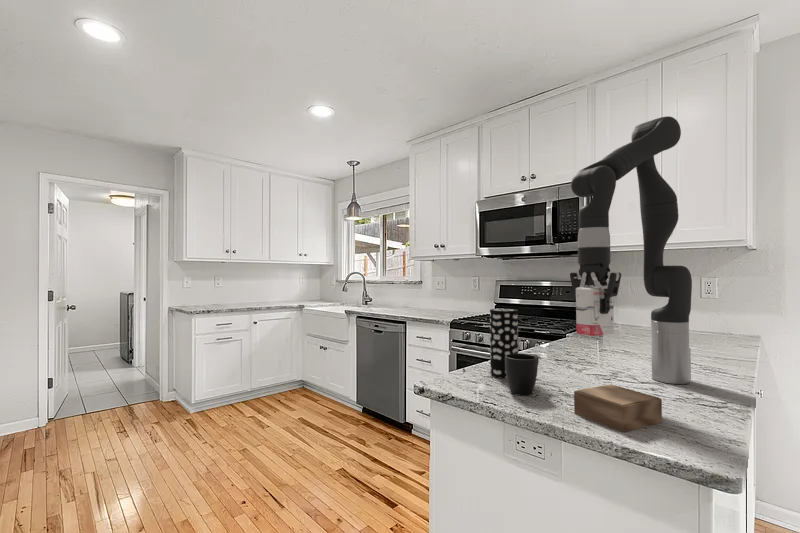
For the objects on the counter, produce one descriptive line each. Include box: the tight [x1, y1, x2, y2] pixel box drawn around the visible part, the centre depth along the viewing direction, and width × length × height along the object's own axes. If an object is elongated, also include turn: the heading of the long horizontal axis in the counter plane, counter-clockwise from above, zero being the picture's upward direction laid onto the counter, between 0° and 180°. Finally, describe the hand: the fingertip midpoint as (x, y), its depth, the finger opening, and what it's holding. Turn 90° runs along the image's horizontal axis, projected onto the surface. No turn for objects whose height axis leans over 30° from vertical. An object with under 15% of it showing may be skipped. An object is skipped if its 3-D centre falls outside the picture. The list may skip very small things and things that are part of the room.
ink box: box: [575, 286, 615, 337], centre depth 105 cm, size 9×5×12 cm, turn 116°
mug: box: [505, 353, 539, 397], centre depth 110 cm, size 8×12×10 cm
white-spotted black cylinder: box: [489, 308, 519, 380], centre depth 127 cm, size 8×8×20 cm
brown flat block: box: [573, 383, 663, 433], centre depth 90 cm, size 12×12×5 cm
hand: (594, 312), depth 105 cm, fingers closed on ink box, 5 cm apart
